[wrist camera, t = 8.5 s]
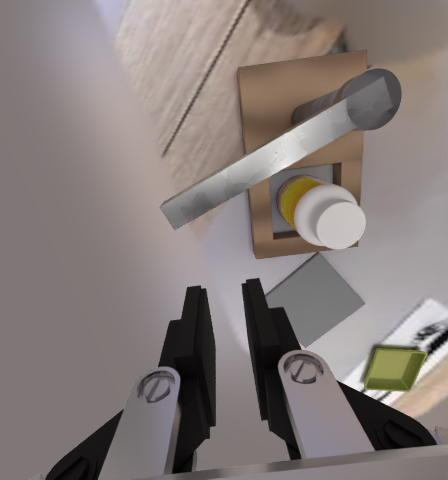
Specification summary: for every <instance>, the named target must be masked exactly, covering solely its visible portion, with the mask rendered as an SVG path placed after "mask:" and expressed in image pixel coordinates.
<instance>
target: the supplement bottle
mask: <svg viewBox="0 0 448 480" xmlns="http://www.w3.org/2000/svg"><path fill="white" fill-rule="evenodd" d="M277 206H278V210H279V212H280V214H281V215H282V216H283V218H284V219H285V220H286V221H287V222H288V223H289V224H290V225H291V226H292V227H293V228H294V229H295V230H296V231H297V232H298V234H299V235H300V236H301V237H302V238H303V239H304V240H306V241H307V242H309V243H311V244H314V245H318V246H326V247H328V248H331V249H344V248H347V247H350V246H351V245H353V244H354V243H356V242H357V241H358V240H359V239H360V237H361V236H362V234H363V233H364V230H365V227H366V218H365V214H364V212H363V211H362V209H361V208H360V207H359V206H358V205H357V202H356V200H355V198H354V196H353V195H352V194H351V193H350V192H349V191H348V190H346V189H345V188H343V187H340V186H338V185H335V184H332V183H329V182H326V181H324V180H321V179H318V178H315V177H312V176H309V175H299V176H295V177H293V178H291V179H289V180H288V181H287V182H286V183H285V184H284V185H283V186H282V187H281V189H280V191H279V193H278V197H277Z"/></svg>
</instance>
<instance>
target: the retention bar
mask: <svg viewBox="0 0 448 480" xmlns="http://www.w3.org/2000/svg"><path fill="white" fill-rule="evenodd" d="M400 102H401V86H400V83H399V81H398V79H397V77H396V76H395V75H394V74H393V73H392V72H390V71H388V70H386V69H380V68H378V69H372V70H369V71H367V72H364V73H362V74H360V75H358V76H356V77H354V78H352V79H350V80H348V81H347V82H346V83H344V84H343V85H342V87H341V88H340V89H339V91H338V93H337V95H336V97H335V101H334V102H333V103H332V104H330V105H328V106H327V107H325V108H323V109H322V110H320V111H318V112H316V113H315V114H313V115H311V116H310V117H308V118H306V119H304V120H303V121H301V122H299V123H298V124H296V125H294V126H293V127H291V128H289V129H287V130H286V131H284V132H282V133H281V134H279V135H277V136H275V137H274V138H272V139H270V140H269V141H267V142H265V143H263V144H262V145H260V146H258V147H257V148H255V149H253V150H252V151H250V152H248V153H246V154H245V155H243V156H241V157H240V158H238V159H236V160H234V161H233V162H231V163H229V164H228V165H226V166H224V167H223V168H221V169H219V170H217V171H216V172H214V173H212V174H211V175H209V176H207V177H205V178H204V179H202V180H200V181H199V182H197V183H195V184H193V185H192V186H190V187H188V188H187V189H185V190H183V191H182V192H180V193H178V194H176V195H175V196H173V197H171V198H170V199H168V200H166V201H165V202H164V203H163V204H162V205H161V206H160V209H161V210H162V212H163V213H164V215H165V216H166V218H167V219H168V221H169V222H170V224H171V225H172V227H173V228H174V230H176V229H177V228H179V227H181V226H183V225H185V224H186V223H188V222H190V221H192V220H193V219H195V218H197V217H199V216H201V215H202V214H204V213H206V212H208V211H209V210H211V209H213V208H215V207H216V206H218V205H220V204H222V203H224V202H225V201H227V200H229V199H231V198H232V197H234V196H236V195H238V194H240V193H241V192H243V191H245V190H247V189H248V188H250V187H252V186H254V185H255V184H257V183H259V182H261V181H263V180H264V179H266V178H268V177H270V176H271V175H273V174H275V173H277V172H278V171H280V170H282V169H284V168H286V167H287V166H289V165H291V164H293V163H294V162H296V161H298V160H300V159H301V158H303V157H305V156H307V155H309V154H310V153H312V152H314V151H316V150H317V149H319V148H321V147H323V146H325V145H326V144H328V143H330V142H332V141H333V140H335V139H337V138H339V137H340V136H342V135H344V134H346V133H348V132H349V131H364V130H374V129H377V128H380V127H382V126H384V125H385V124H387V123H388V122H389V121H390V120H391V119H392V118H393V116H394V115H395V114H396V112H397V110H398V108H399V105H400Z"/></svg>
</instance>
